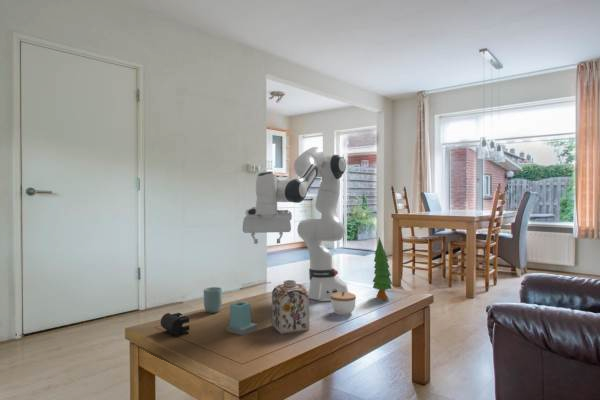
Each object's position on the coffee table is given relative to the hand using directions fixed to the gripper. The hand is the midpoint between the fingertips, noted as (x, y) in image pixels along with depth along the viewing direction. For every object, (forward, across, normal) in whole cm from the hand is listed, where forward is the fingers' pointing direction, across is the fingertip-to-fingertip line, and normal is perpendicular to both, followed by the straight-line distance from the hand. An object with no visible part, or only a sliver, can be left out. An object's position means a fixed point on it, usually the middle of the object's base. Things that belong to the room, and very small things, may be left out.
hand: (267, 243), depth 166 cm
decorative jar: (+31, -9, +14) cm, 36 cm away
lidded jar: (+31, -32, -3) cm, 45 cm away
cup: (+31, +25, -10) cm, 41 cm away
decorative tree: (+31, -55, -27) cm, 69 cm away
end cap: (+31, +34, +17) cm, 49 cm away
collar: (+29, +10, +16) cm, 35 cm away
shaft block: (+31, +9, +16) cm, 36 cm away
